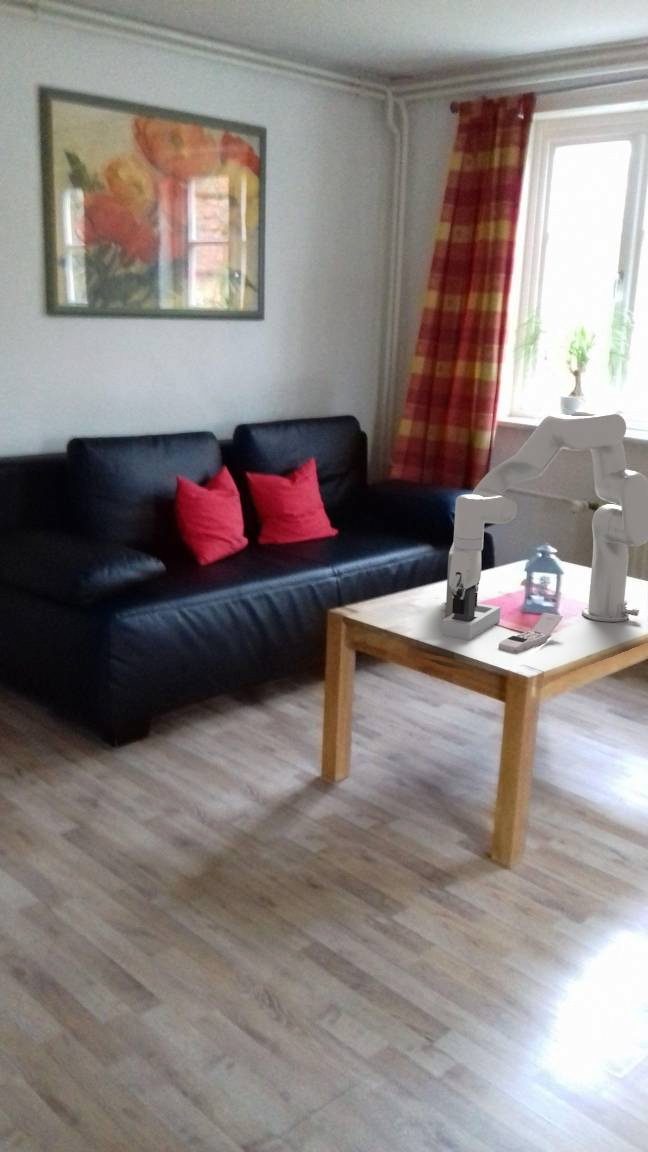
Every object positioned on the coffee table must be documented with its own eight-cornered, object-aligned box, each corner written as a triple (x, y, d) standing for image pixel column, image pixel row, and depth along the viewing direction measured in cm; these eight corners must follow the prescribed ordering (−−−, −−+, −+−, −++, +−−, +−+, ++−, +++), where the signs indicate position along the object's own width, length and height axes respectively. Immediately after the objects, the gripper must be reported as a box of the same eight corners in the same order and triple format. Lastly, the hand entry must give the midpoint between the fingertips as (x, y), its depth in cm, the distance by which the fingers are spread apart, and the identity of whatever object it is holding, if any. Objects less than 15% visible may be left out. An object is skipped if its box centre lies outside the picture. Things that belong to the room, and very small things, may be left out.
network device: (467, 627, 275) (471, 555, 270) (434, 625, 277) (438, 553, 272) (473, 602, 299) (477, 535, 294) (443, 600, 301) (446, 533, 296)
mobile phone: (564, 616, 268) (514, 636, 250) (563, 637, 269) (513, 659, 251) (544, 611, 272) (493, 631, 253) (542, 632, 273) (492, 654, 255)
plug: (473, 631, 268) (476, 587, 265) (467, 635, 265) (469, 591, 262) (457, 628, 271) (459, 585, 268) (450, 632, 267) (453, 588, 264)
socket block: (499, 624, 278) (500, 606, 277) (469, 643, 262) (470, 624, 260) (472, 619, 282) (473, 601, 281) (441, 638, 266) (441, 619, 264)
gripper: (468, 535, 271) (465, 600, 275) (440, 547, 256) (436, 615, 261) (495, 539, 267) (491, 604, 271) (467, 551, 252) (464, 620, 257)
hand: (464, 609), depth 266 cm, fingers open, 7 cm apart
